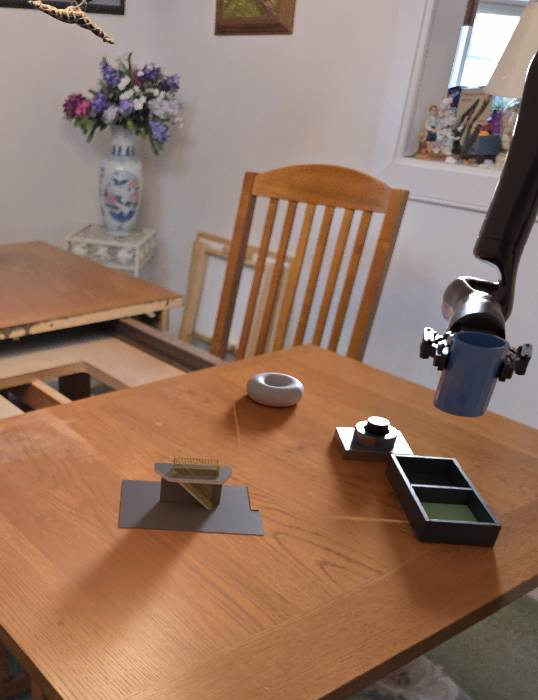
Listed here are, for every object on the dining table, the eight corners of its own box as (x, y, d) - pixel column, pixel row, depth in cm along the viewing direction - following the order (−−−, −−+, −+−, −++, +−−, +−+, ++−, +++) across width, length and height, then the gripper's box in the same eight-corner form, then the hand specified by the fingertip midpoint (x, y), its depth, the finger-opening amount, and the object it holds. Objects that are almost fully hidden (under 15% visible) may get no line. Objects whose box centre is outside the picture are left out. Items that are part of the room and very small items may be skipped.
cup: (475, 398, 95) (498, 332, 90) (493, 419, 90) (517, 350, 85) (426, 395, 96) (446, 329, 91) (441, 415, 90) (462, 346, 85)
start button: (384, 427, 107) (386, 417, 106) (389, 437, 105) (392, 426, 104) (363, 426, 107) (365, 415, 106) (367, 435, 105) (370, 424, 104)
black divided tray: (448, 477, 102) (455, 457, 100) (493, 547, 87) (502, 526, 85) (384, 472, 102) (390, 453, 100) (418, 541, 87) (425, 520, 86)
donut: (249, 384, 128) (240, 404, 120) (252, 366, 126) (243, 385, 118) (304, 393, 126) (299, 413, 118) (308, 374, 124) (302, 394, 116)
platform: (264, 534, 87) (272, 488, 83) (119, 526, 87) (120, 480, 83) (253, 486, 97) (260, 443, 93) (122, 479, 97) (124, 436, 93)
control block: (397, 440, 111) (403, 420, 109) (410, 464, 104) (417, 443, 102) (333, 436, 111) (338, 416, 109) (343, 460, 105) (348, 439, 103)
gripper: (430, 297, 100) (421, 329, 88) (540, 313, 96) (547, 349, 83) (415, 348, 105) (405, 386, 92) (520, 366, 100) (524, 408, 88)
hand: (473, 368), depth 88 cm, fingers closed on cup, 6 cm apart
